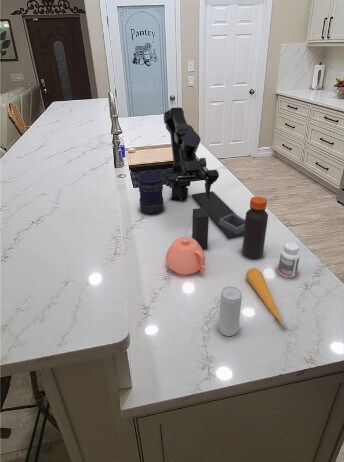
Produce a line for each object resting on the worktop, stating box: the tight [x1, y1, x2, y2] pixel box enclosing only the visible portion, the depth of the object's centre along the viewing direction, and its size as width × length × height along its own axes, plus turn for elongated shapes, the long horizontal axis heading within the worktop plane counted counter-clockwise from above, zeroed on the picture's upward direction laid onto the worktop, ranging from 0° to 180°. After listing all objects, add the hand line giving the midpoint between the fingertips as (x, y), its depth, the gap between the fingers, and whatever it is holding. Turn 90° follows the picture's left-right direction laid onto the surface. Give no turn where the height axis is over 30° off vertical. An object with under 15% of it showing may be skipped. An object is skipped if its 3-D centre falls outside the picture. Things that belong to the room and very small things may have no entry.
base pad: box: [191, 190, 245, 240], centre depth 133 cm, size 37×10×4 cm, turn 18°
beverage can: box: [218, 285, 243, 337], centre depth 79 cm, size 5×5×12 cm
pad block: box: [191, 207, 210, 251], centre depth 111 cm, size 4×6×13 cm, turn 10°
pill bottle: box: [277, 241, 301, 278], centre depth 98 cm, size 5×5×10 cm
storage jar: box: [137, 171, 165, 216], centre depth 134 cm, size 10×10×15 cm
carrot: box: [245, 267, 284, 327], centre depth 90 cm, size 20×4×4 cm, turn 12°
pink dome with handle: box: [165, 236, 206, 276], centre depth 101 cm, size 12×14×10 cm
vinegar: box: [241, 196, 269, 260], centre depth 105 cm, size 7×7×20 cm
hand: (195, 200), depth 115 cm, fingers open, 9 cm apart
